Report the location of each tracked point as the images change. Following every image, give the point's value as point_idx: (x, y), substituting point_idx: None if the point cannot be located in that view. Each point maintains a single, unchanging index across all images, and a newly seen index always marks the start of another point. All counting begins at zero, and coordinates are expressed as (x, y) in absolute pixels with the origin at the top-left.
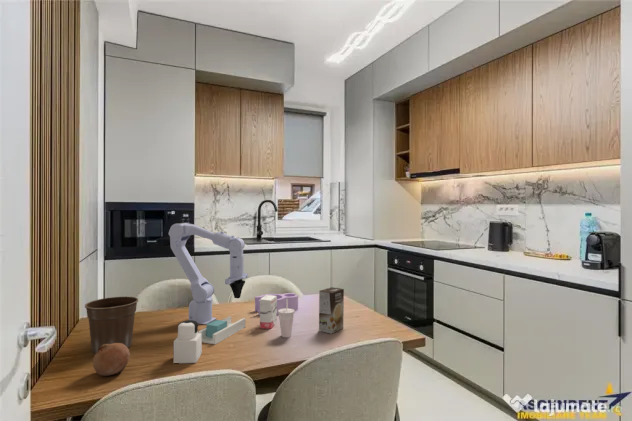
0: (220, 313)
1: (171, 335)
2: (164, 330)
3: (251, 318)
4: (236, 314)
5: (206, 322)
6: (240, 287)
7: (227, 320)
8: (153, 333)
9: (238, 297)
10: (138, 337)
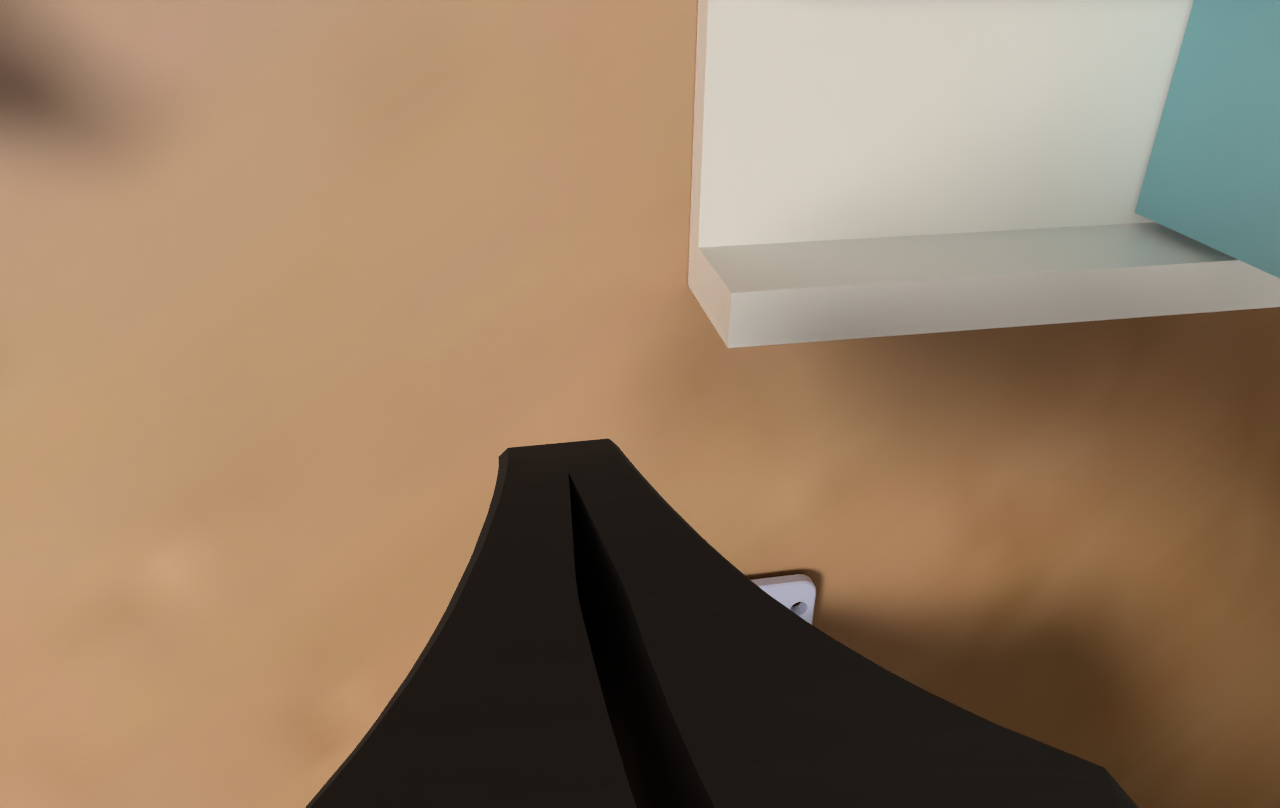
0: (263, 735)
1: (1200, 618)
2: None
3: (159, 98)
4: (140, 515)
5: (773, 595)
6: (685, 680)
7: (849, 270)
8: (1154, 775)
9: (616, 452)
10: (1255, 788)
